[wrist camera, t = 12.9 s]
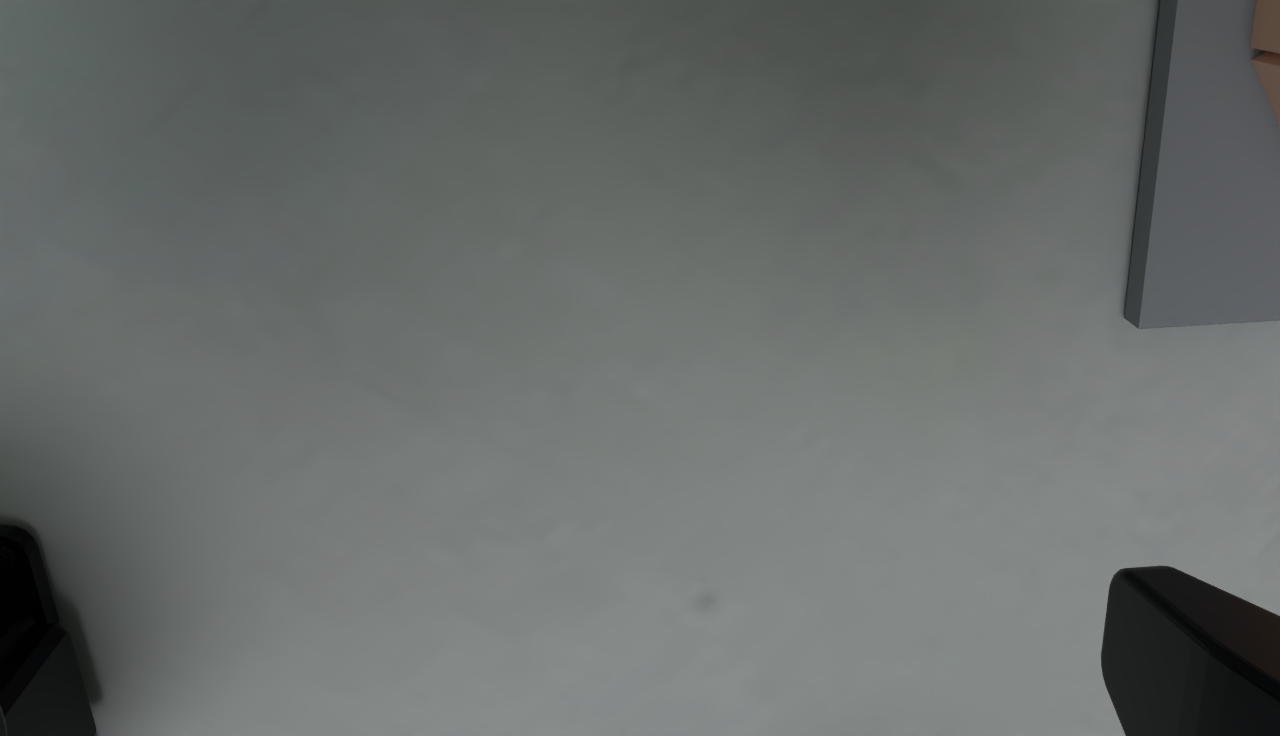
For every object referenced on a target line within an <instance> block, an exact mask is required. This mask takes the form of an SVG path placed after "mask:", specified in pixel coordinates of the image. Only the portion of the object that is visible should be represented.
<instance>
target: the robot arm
mask: <svg viewBox="0 0 1280 736" xmlns="http://www.w3.org/2000/svg"><path fill="white" fill-rule="evenodd" d="M0 547H4V548H7V549H8V550H10V551H11V552H12V553H13V555H14V556H15V559H10V558H7V557H5V556H4V555H2V554H1V552H0V736H94V735H95V733H96V726H95V723H94V719H93V716H92V712H91V709H90V705H89V702H88V698H87V695H86V691H85V688H84V684H83V681H82V677H81V673H80V670H79V666H78V663H77V659H76V656H75V652H74V649H73V645H72V642H71V638H70V635H69V633H68V632H67V631H66V630H65V628H64V627H63V626H62V625H61V624H60V622H59V618H58V615H57V611H56V608H55V604H54V601H53V597H52V594H51V590H50V587H49V583H48V580H47V576H46V573H45V569H44V566H43V562H42V559H41V555H40V552H39V548H38V545H37V543H36V542H35V540H34V538H33V537H32V536H31V535H30V534H29V533H28V532H27V531H26V530H24V529H21V528H19V527H17V526H12V525H0ZM1101 666H1102V673H1103V678H1104V682H1105V685H1106V688H1107V690H1108V693H1109V695H1110V698H1111V700H1112V703H1113V705H1114V708H1115V710H1116V713H1117V715H1118V718H1119V720H1120V723H1121V725H1122V727H1123V730H1124V732H1125V735H1126V736H1280V616H1278V615H1276V614H1274V613H1272V612H1270V611H1267V610H1265V609H1263V608H1261V607H1259V606H1256V605H1254V604H1252V603H1250V602H1248V601H1245V600H1243V599H1241V598H1239V597H1237V596H1234V595H1232V594H1230V593H1228V592H1226V591H1223V590H1221V589H1219V588H1217V587H1215V586H1212V585H1210V584H1208V583H1206V582H1204V581H1201V580H1199V579H1197V578H1195V577H1193V576H1190V575H1188V574H1186V573H1184V572H1182V571H1179V570H1177V569H1175V568H1172V567H1169V566H1150V567H1135V568H1124V569H1120V570H1119V571H1118V572H1117V573H1116V574H1115V575H1114V576H1113V578H1112V581H1111V583H1110V588H1109V595H1108V603H1107V611H1106V619H1105V627H1104V636H1103V644H1102V652H1101Z"/></svg>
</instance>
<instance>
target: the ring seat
mask: <svg viewBox="0 0 1280 736" xmlns="http://www.w3.org/2000/svg"><path fill="white" fill-rule="evenodd" d="M1124 318H1125V319H1126V320H1128V321H1129V322H1130V323H1132V324H1133V325H1134V326H1136V327H1137V328H1138V329H1145V328H1161V327H1178V326H1194V325H1211V324H1227V323H1244V322H1260V321H1277V320H1280V0H1160V9H1159V17H1158V26H1157V35H1156V44H1155V53H1154V61H1153V70H1152V79H1151V88H1150V97H1149V105H1148V114H1147V123H1146V132H1145V140H1144V149H1143V158H1142V167H1141V176H1140V184H1139V193H1138V202H1137V211H1136V220H1135V228H1134V237H1133V246H1132V255H1131V263H1130V272H1129V281H1128V290H1127V299H1126V307H1125V316H1124Z"/></svg>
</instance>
